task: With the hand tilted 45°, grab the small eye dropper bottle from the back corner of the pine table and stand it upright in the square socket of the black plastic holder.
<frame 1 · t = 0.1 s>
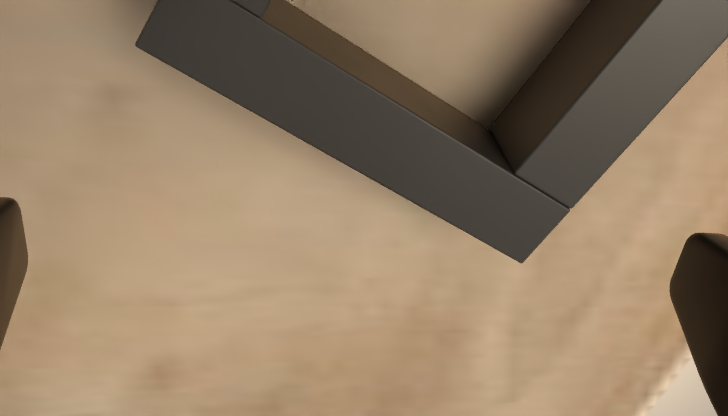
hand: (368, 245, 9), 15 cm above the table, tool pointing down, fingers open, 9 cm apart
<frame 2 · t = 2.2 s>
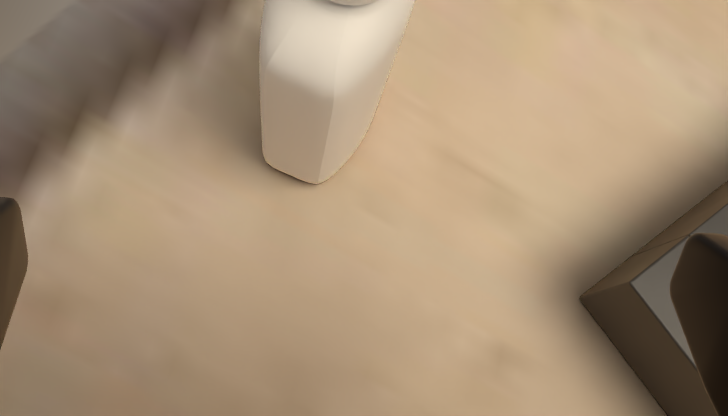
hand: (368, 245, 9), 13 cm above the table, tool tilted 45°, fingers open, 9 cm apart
eye dropper bottle: (322, 111, 24), on the table
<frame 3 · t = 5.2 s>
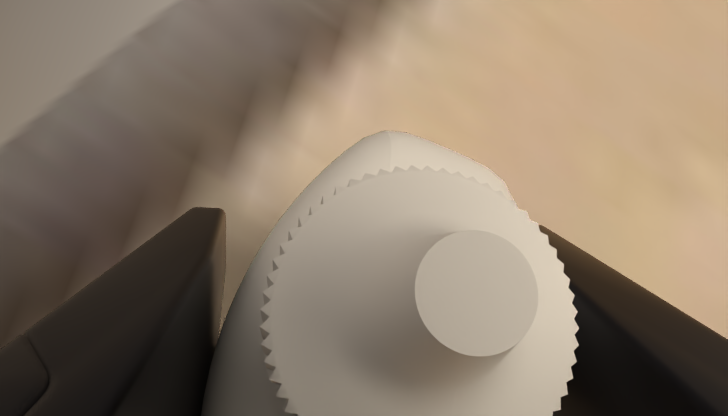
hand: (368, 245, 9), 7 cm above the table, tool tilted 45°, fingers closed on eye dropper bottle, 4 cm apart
eye dropper bottle: (326, 368, 16), on the table, touching gripper
when the fingers open (7 cm above the table, at t = 12.7 s): eye dropper bottle stays where it is, resting in holder.
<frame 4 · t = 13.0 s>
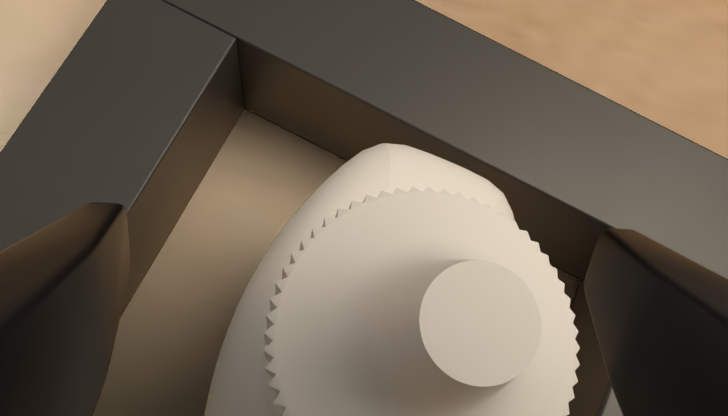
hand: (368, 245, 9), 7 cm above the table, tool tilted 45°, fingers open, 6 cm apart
eye dropper bottle: (325, 374, 16), resting in holder
holder: (327, 367, 15), on the table
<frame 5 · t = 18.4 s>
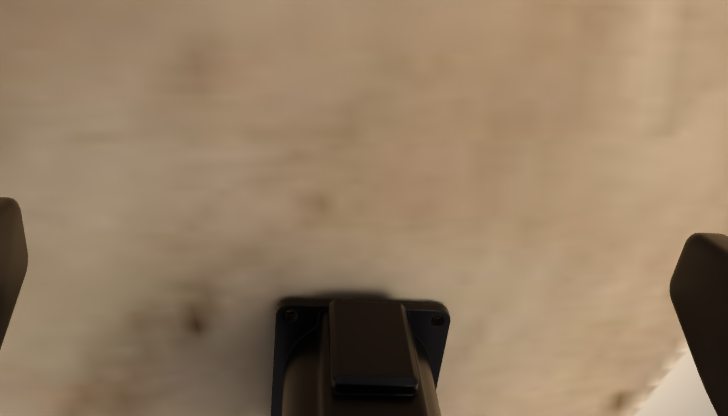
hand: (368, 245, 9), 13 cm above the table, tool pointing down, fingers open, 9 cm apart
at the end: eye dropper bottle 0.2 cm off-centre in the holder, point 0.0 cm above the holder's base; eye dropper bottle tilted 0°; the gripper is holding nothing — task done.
